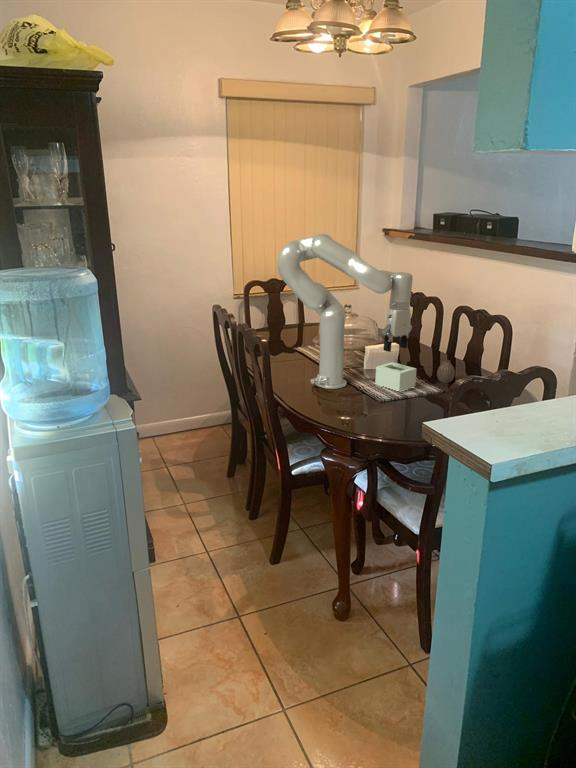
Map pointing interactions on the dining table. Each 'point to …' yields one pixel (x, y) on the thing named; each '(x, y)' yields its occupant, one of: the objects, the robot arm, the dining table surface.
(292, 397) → the dining table surface
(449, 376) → the vase
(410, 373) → the coin box
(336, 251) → the robot arm
